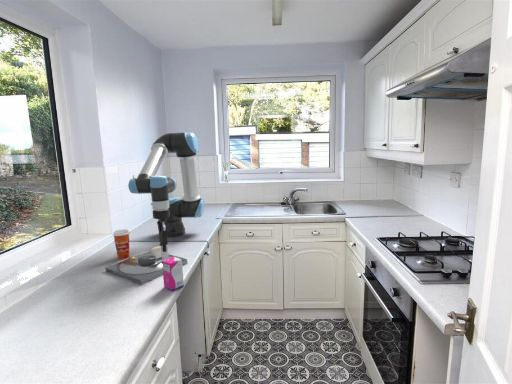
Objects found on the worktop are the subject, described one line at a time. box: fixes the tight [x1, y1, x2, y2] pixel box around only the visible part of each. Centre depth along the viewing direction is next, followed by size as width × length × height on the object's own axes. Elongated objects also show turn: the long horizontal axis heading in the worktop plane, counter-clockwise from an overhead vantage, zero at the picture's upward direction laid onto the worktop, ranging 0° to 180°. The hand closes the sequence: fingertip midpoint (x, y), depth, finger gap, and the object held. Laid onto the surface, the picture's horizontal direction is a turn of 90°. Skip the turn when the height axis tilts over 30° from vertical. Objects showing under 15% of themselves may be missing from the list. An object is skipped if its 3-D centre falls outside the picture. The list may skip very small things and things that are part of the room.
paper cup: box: [112, 228, 131, 260], centre depth 152 cm, size 8×8×14 cm
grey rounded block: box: [138, 245, 161, 266], centre depth 142 cm, size 15×8×6 cm, turn 147°
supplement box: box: [162, 257, 185, 292], centre depth 119 cm, size 6×6×12 cm
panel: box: [104, 250, 188, 286], centre depth 139 cm, size 26×26×3 cm
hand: (164, 257), depth 141 cm, fingers closed
